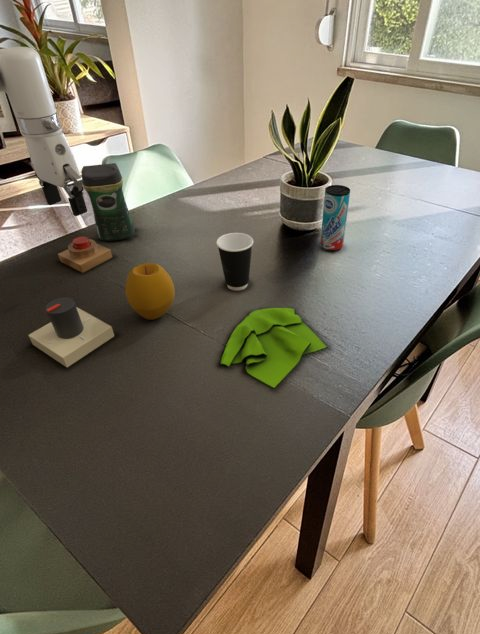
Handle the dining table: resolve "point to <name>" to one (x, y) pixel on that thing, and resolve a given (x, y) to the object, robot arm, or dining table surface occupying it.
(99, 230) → the coffee jar
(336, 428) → the dining table surface
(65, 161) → the robot arm
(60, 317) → the knob
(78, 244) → the button
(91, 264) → the button block
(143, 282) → the apple
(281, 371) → the cloth
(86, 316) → the panel
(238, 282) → the dixie cup
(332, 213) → the beverage can
